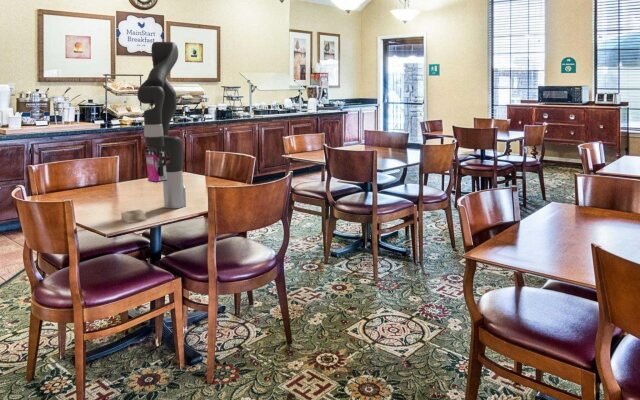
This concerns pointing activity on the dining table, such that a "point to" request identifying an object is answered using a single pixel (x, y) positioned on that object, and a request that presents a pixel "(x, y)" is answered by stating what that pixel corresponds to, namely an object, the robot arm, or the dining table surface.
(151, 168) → the supplement box
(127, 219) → the maple block
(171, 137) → the robot arm
